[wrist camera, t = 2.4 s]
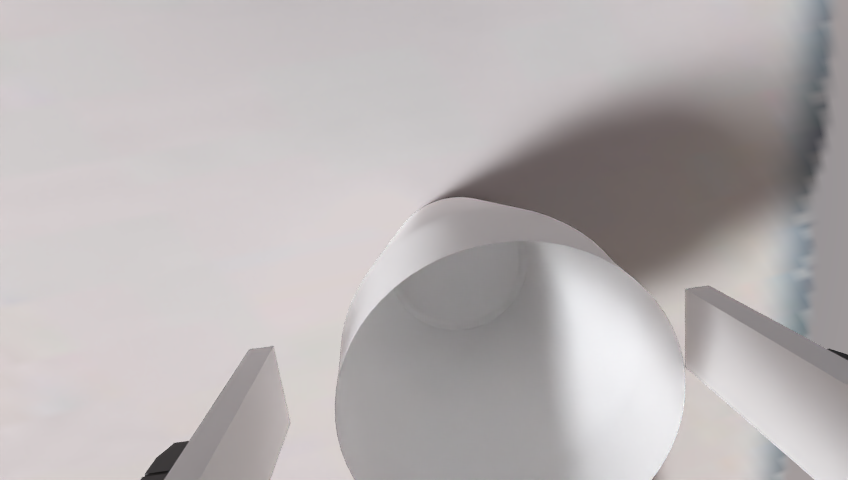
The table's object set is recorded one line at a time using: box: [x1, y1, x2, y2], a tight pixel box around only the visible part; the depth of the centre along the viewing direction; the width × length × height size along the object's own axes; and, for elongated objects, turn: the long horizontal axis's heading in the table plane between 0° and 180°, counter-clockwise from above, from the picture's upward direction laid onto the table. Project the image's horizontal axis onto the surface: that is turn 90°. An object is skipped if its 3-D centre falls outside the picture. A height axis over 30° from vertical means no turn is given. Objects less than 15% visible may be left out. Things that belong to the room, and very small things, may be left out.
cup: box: [335, 197, 686, 480], centre depth 18 cm, size 9×9×12 cm
